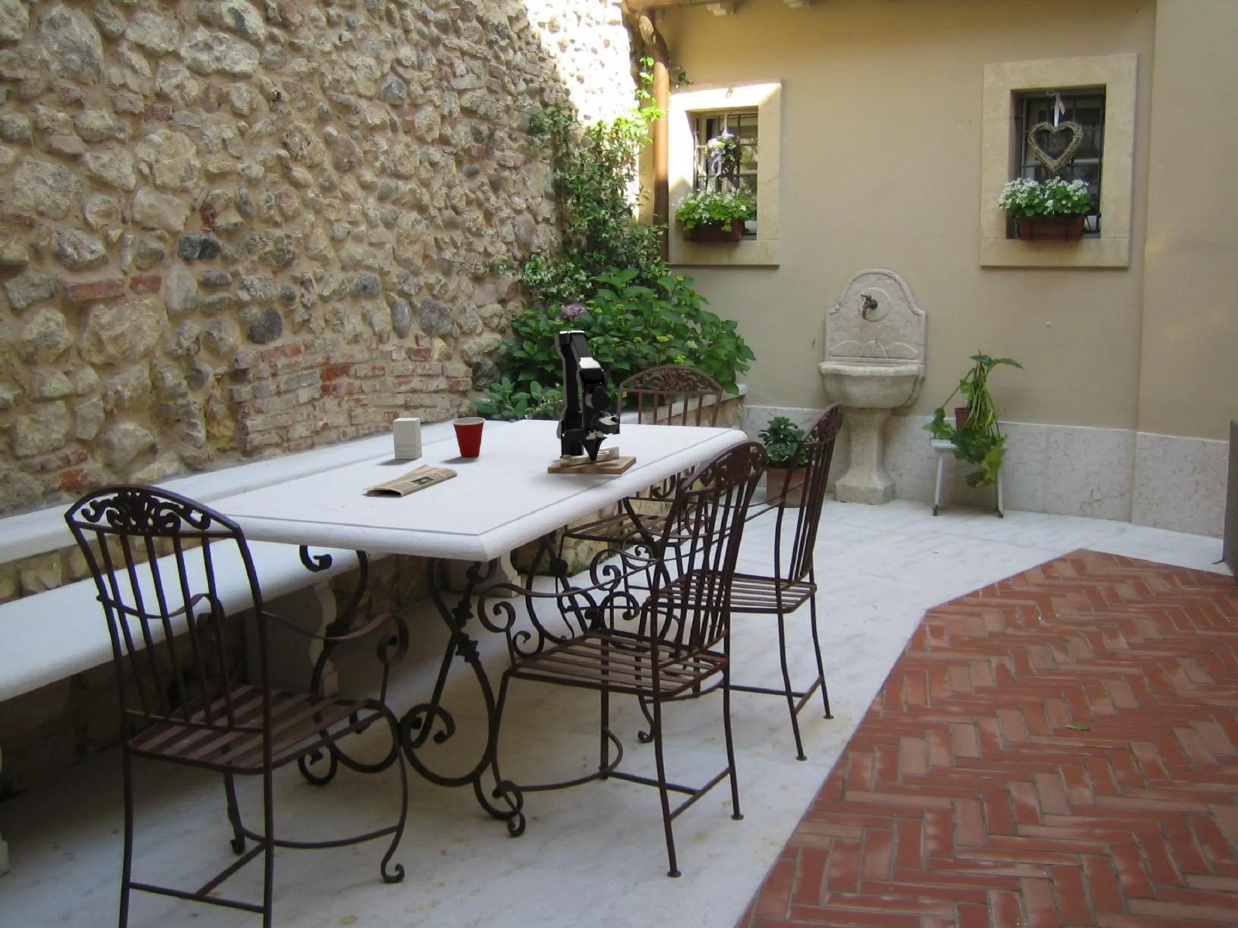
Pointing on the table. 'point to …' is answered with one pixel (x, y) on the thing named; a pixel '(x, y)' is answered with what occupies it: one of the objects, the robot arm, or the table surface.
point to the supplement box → (407, 438)
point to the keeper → (611, 451)
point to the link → (582, 459)
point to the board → (595, 466)
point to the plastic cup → (469, 435)
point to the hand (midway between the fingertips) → (593, 461)
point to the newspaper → (414, 480)
